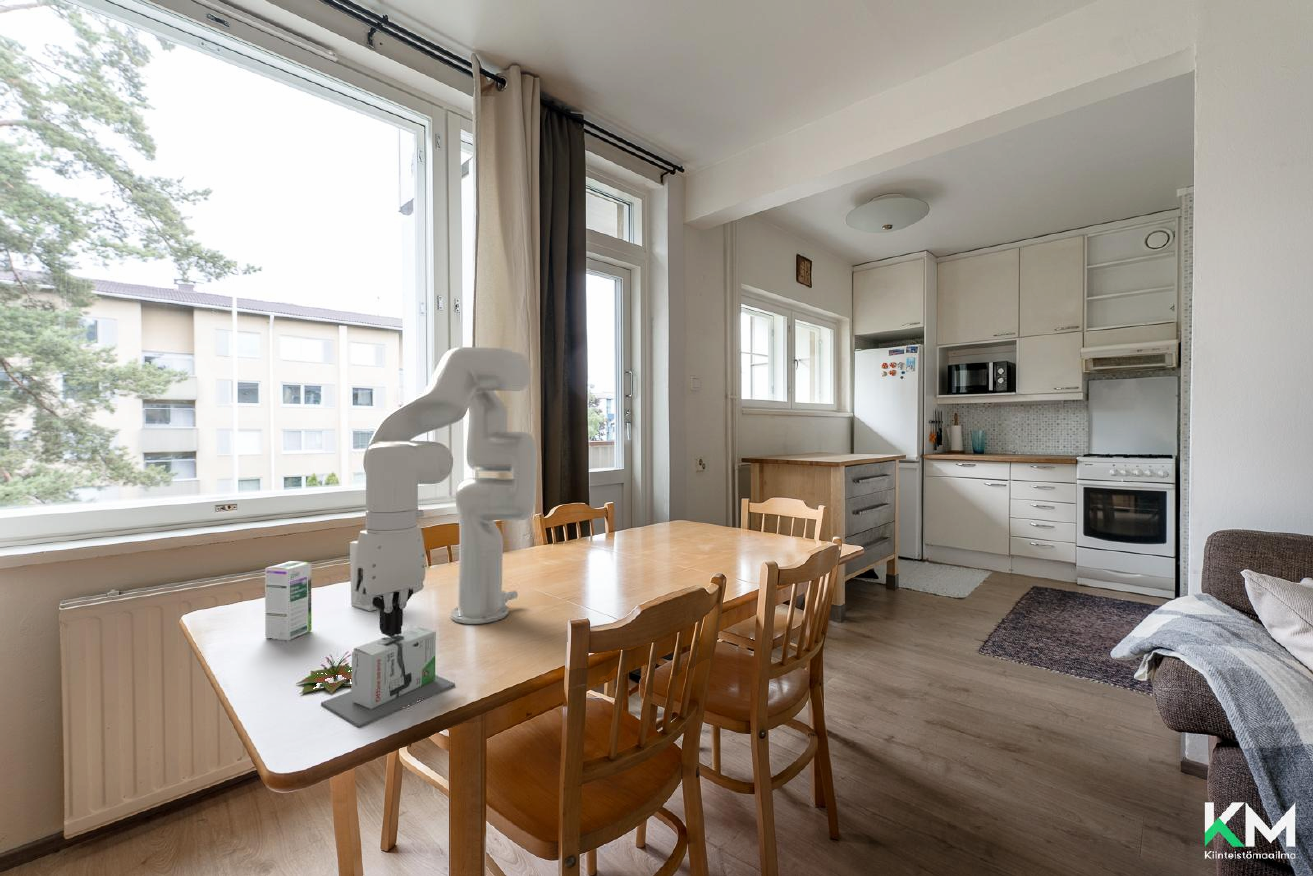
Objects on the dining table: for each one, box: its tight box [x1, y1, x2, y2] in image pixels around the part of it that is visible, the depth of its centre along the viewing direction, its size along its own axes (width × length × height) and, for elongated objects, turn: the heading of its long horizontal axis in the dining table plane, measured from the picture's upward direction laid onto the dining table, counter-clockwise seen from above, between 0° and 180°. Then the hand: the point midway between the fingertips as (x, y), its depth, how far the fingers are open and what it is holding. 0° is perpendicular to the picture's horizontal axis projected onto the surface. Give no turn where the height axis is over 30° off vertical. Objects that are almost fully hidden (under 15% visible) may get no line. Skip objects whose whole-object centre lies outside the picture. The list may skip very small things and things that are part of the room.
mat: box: [320, 674, 456, 728], centre depth 89 cm, size 16×11×1 cm
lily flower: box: [295, 651, 352, 695], centre depth 94 cm, size 12×12×5 cm
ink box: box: [350, 625, 437, 709], centre depth 89 cm, size 9×5×12 cm
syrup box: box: [264, 560, 312, 642], centre depth 113 cm, size 6×6×14 cm
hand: (391, 633), depth 89 cm, fingers closed
